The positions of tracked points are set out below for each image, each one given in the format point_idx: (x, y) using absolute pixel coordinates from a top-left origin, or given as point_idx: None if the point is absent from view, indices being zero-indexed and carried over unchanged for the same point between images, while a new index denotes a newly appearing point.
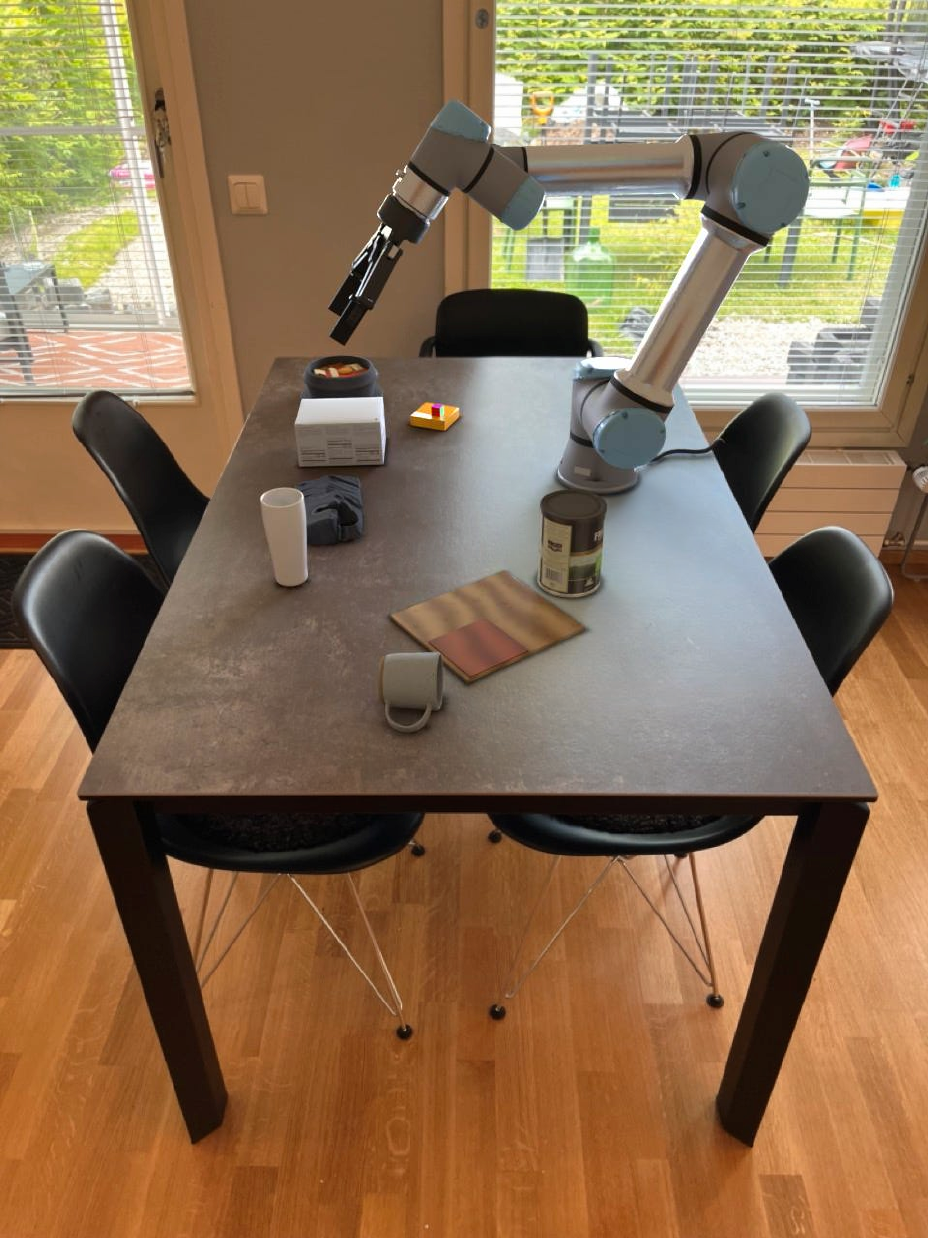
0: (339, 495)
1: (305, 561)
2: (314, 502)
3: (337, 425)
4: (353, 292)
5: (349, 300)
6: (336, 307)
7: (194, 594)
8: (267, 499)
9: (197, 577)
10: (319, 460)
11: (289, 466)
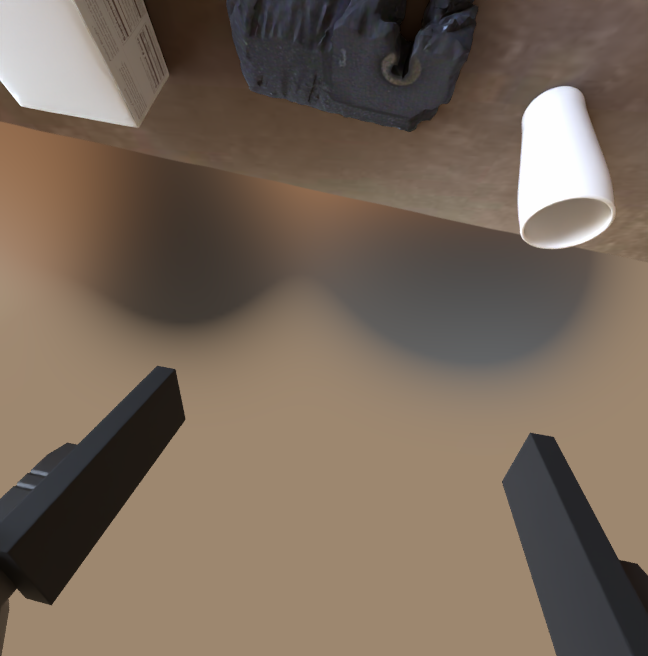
0: (358, 21)
1: (584, 111)
2: (356, 74)
3: (93, 30)
4: (89, 485)
5: (125, 442)
6: (169, 418)
7: (506, 217)
8: (526, 230)
9: (470, 213)
10: (150, 39)
11: (172, 92)
